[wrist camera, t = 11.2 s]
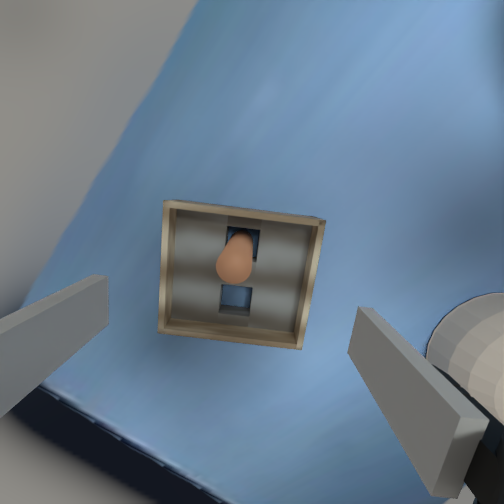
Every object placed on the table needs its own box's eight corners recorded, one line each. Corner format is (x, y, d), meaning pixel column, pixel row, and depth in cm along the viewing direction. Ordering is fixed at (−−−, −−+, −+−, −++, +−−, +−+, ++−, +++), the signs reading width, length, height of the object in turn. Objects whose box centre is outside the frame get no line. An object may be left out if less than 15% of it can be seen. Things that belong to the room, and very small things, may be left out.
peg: (231, 228, 37) (217, 247, 23) (254, 231, 37) (253, 251, 23) (229, 250, 37) (214, 281, 24) (251, 253, 37) (249, 285, 24)
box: (178, 199, 36) (163, 200, 30) (314, 216, 36) (326, 220, 30) (171, 313, 40) (157, 333, 34) (294, 327, 40) (301, 350, 34)
